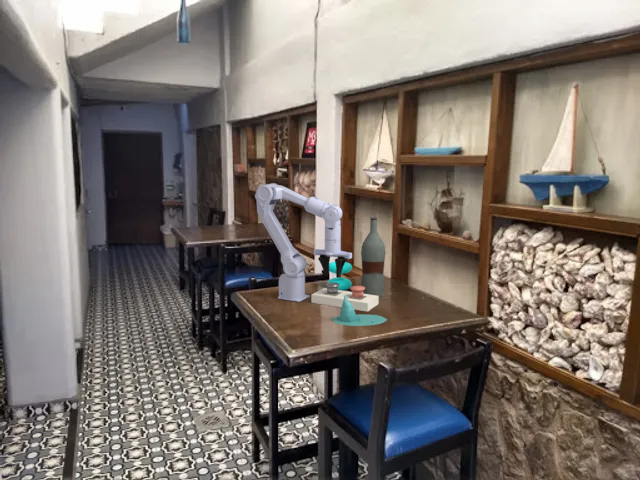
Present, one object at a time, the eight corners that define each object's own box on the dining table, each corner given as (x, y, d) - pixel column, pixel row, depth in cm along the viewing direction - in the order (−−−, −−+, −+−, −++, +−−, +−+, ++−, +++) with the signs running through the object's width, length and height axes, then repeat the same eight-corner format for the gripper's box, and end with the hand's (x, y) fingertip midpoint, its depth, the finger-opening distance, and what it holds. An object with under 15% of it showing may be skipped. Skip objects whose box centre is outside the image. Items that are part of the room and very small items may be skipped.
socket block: (311, 302, 175) (311, 294, 174) (324, 295, 183) (324, 288, 183) (367, 311, 164) (367, 303, 164) (378, 303, 173) (378, 295, 173)
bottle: (380, 300, 178) (382, 219, 173) (357, 297, 181) (358, 218, 176) (387, 293, 186) (389, 216, 181) (364, 291, 190) (366, 215, 185)
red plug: (347, 296, 170) (347, 288, 169) (353, 293, 174) (354, 284, 174) (361, 298, 168) (361, 290, 167) (367, 295, 172) (367, 286, 171)
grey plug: (322, 293, 175) (322, 284, 174) (329, 289, 179) (329, 281, 179) (335, 295, 172) (335, 286, 172) (342, 291, 177) (342, 283, 176)
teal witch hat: (394, 326, 151) (395, 300, 150) (331, 328, 150) (331, 301, 148) (386, 314, 163) (387, 289, 162) (327, 315, 162) (327, 290, 160)
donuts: (353, 261, 197) (349, 266, 187) (353, 285, 198) (349, 291, 189) (329, 260, 199) (324, 265, 189) (329, 283, 201) (324, 290, 191)
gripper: (309, 239, 172) (309, 276, 175) (346, 242, 165) (345, 281, 168) (318, 236, 178) (319, 272, 181) (354, 239, 172) (354, 276, 174)
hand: (332, 276), depth 175 cm, fingers open, 4 cm apart
